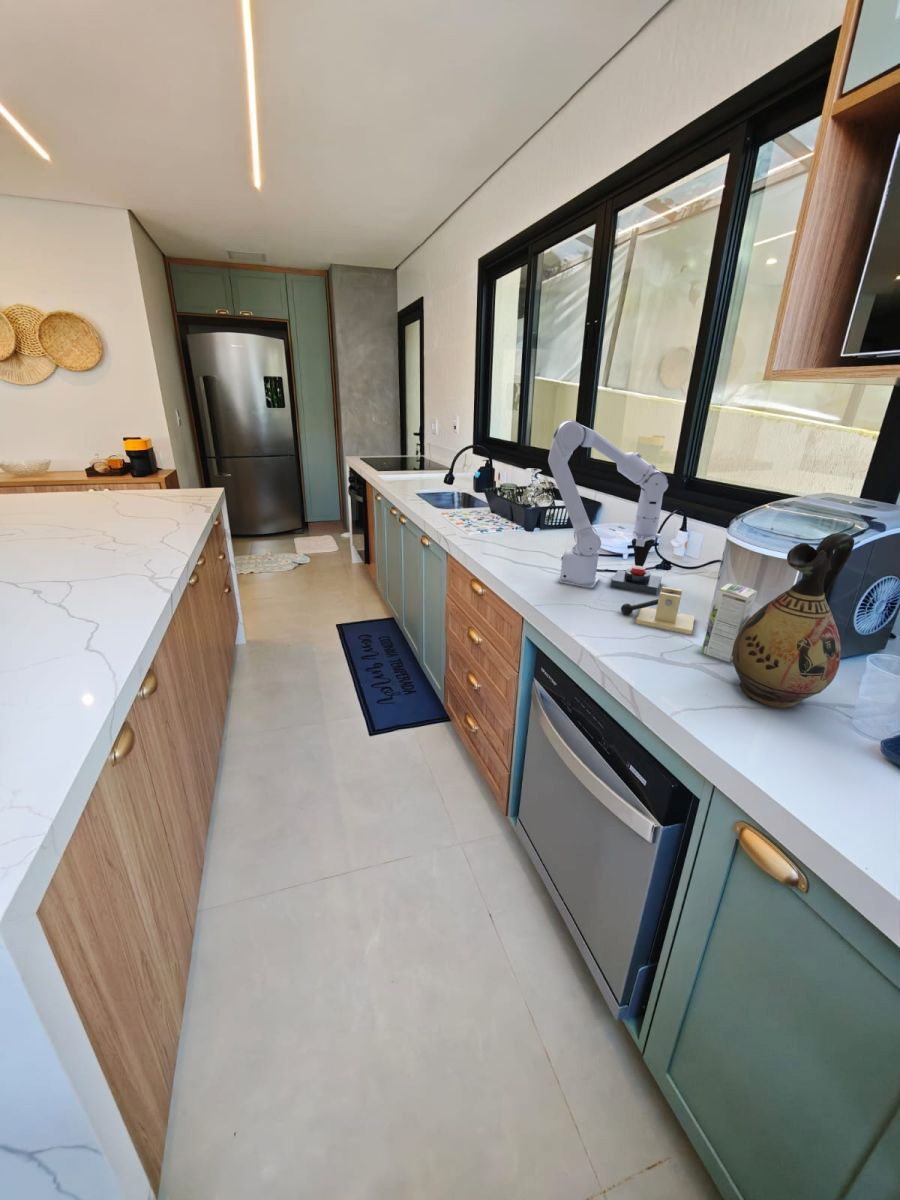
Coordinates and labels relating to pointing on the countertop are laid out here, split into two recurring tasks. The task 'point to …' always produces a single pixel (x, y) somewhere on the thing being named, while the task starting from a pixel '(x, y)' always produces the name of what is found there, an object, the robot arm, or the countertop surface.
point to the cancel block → (636, 582)
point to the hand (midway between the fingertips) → (639, 565)
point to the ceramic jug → (794, 631)
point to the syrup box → (728, 620)
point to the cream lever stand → (667, 613)
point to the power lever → (639, 605)
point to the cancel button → (638, 570)
